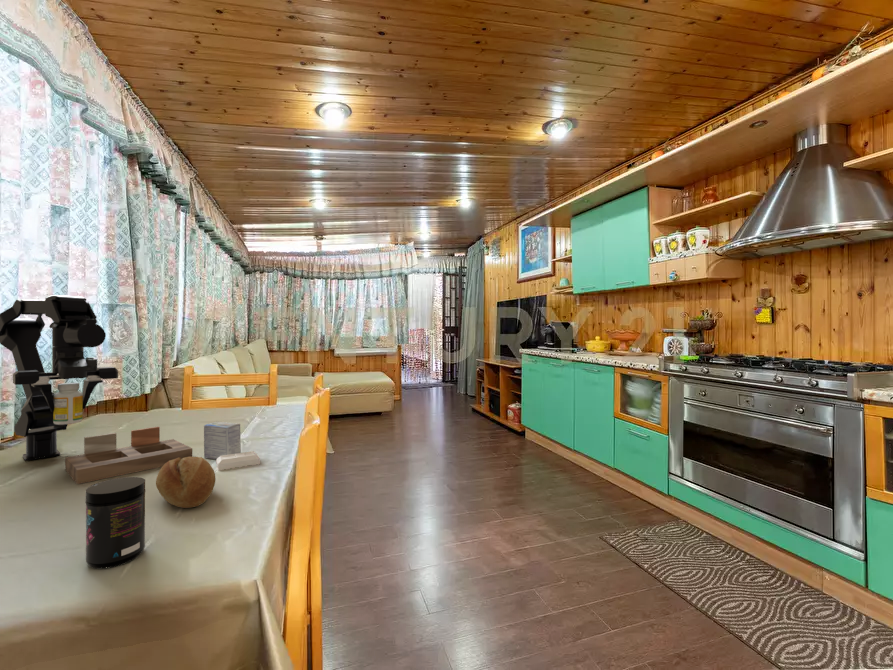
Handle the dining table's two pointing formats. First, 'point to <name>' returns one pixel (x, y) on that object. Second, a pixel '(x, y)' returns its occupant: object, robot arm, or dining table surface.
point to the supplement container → (115, 521)
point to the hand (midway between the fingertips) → (68, 410)
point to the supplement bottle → (68, 404)
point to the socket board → (123, 455)
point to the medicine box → (221, 439)
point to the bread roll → (186, 481)
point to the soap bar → (237, 460)
